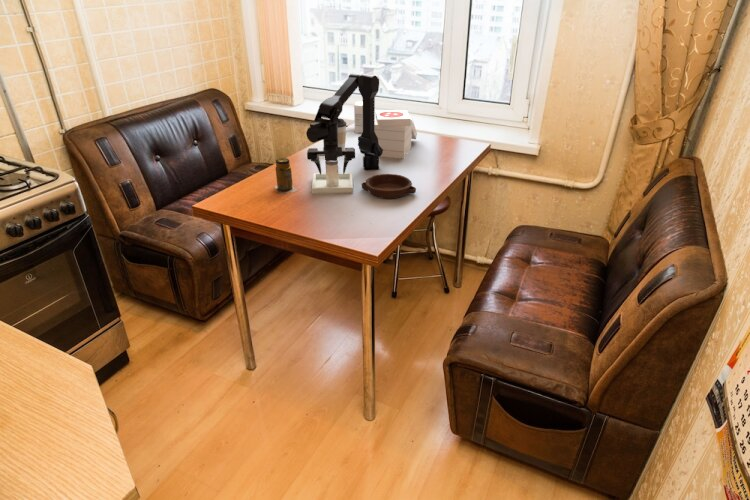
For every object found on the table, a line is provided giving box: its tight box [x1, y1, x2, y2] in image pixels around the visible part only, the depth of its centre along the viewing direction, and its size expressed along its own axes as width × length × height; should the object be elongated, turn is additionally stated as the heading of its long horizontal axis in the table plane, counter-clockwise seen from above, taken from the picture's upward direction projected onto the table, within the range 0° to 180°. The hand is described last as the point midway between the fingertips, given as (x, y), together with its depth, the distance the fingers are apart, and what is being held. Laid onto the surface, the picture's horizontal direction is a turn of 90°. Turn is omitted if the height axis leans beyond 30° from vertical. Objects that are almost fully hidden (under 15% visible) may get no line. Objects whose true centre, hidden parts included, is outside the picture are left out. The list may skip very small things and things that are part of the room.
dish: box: [361, 173, 417, 200], centre depth 189 cm, size 18×22×5 cm
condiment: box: [273, 157, 298, 195], centre depth 190 cm, size 7×8×12 cm
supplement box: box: [353, 100, 363, 134], centre depth 257 cm, size 9×9×15 cm
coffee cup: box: [337, 118, 347, 151], centre depth 230 cm, size 9×9×15 cm
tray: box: [311, 172, 354, 195], centre depth 195 cm, size 16×16×2 cm
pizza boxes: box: [374, 109, 418, 160], centre depth 232 cm, size 19×30×18 cm, turn 163°
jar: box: [324, 159, 339, 187], centre depth 193 cm, size 5×5×10 cm
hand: (332, 173), depth 193 cm, fingers open, 9 cm apart
